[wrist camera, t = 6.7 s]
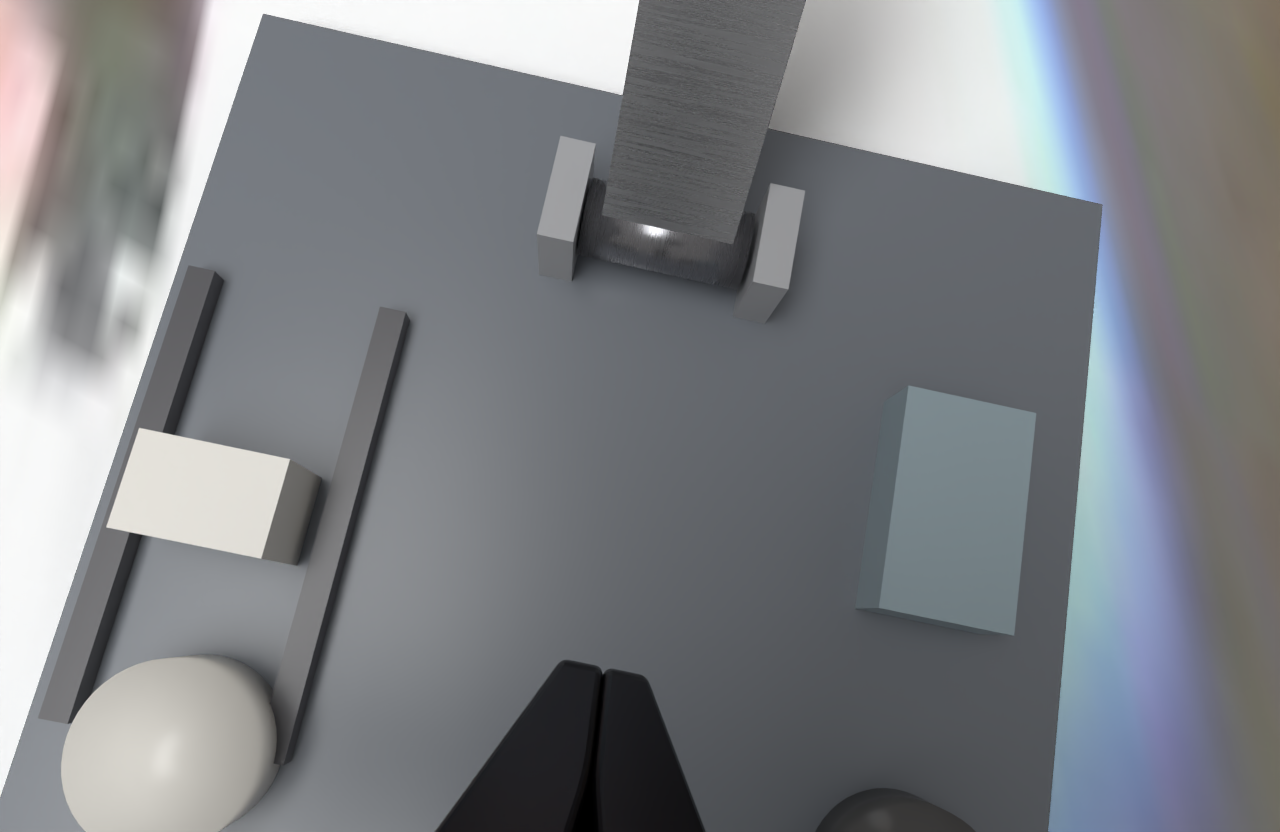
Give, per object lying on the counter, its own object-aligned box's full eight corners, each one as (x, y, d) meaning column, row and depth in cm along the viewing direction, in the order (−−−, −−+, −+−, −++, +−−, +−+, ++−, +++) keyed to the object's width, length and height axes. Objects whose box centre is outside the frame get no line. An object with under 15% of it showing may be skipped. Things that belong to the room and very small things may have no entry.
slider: (296, 565, 20) (261, 558, 18) (161, 538, 20) (106, 527, 18) (321, 477, 21) (289, 459, 18) (189, 450, 21) (139, 427, 18)
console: (975, 1232, 20) (1073, 1377, 16) (-47, 1050, 19) (-198, 1158, 15) (1071, 228, 25) (1161, 159, 22) (280, 49, 24) (229, -55, 21)
